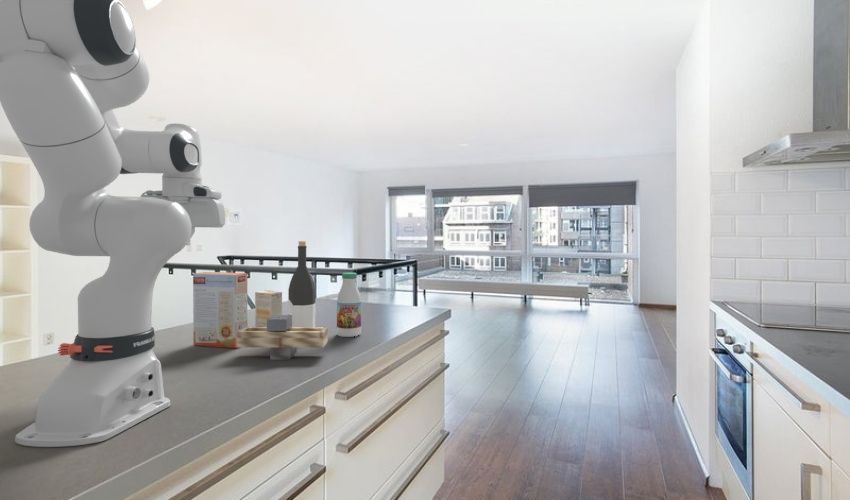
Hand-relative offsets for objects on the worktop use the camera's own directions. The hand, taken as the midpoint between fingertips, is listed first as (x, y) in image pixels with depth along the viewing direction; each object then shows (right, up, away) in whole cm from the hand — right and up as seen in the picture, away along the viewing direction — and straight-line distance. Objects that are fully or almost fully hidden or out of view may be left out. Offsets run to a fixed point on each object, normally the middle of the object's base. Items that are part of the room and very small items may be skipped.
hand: (182, 245), depth 112 cm
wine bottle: (+24, -29, +24) cm, 44 cm away
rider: (+23, -24, +4) cm, 34 cm away
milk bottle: (+38, -29, +29) cm, 55 cm away
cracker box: (+3, -29, +14) cm, 32 cm away
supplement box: (+10, -28, +33) cm, 44 cm away
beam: (+25, -29, +4) cm, 38 cm away
